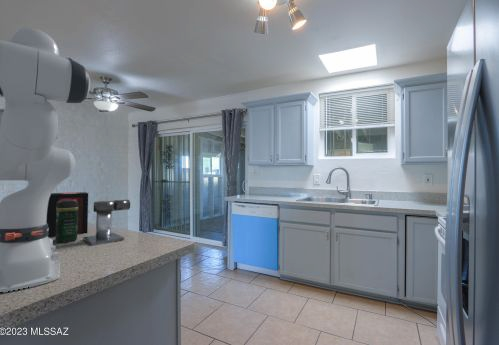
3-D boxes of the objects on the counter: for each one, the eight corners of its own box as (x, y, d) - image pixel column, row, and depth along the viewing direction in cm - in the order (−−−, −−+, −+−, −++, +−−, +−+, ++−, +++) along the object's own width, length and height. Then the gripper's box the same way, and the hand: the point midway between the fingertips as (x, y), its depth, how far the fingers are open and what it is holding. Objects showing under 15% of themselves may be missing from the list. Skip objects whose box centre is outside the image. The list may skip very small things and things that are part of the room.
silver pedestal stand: (124, 240, 117) (124, 211, 117) (91, 245, 107) (92, 214, 107) (113, 235, 126) (114, 208, 126) (82, 239, 116) (83, 211, 117)
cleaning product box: (45, 237, 118) (46, 194, 119) (45, 234, 125) (46, 193, 125) (87, 233, 129) (88, 193, 129) (84, 230, 136) (85, 192, 136)
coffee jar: (79, 241, 114) (80, 199, 114) (56, 244, 108) (57, 200, 109) (75, 237, 121) (76, 197, 121) (54, 239, 116) (55, 198, 116)
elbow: (96, 213, 111) (97, 202, 111) (90, 211, 116) (91, 200, 117) (131, 210, 122) (132, 200, 122) (124, 208, 127) (124, 198, 127)
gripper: (-16, 105, 87) (-18, 146, 88) (59, 116, 100) (57, 152, 100) (-13, 107, 92) (-14, 146, 93) (58, 117, 105) (57, 151, 105)
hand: (23, 149), depth 97 cm, fingers open, 8 cm apart
